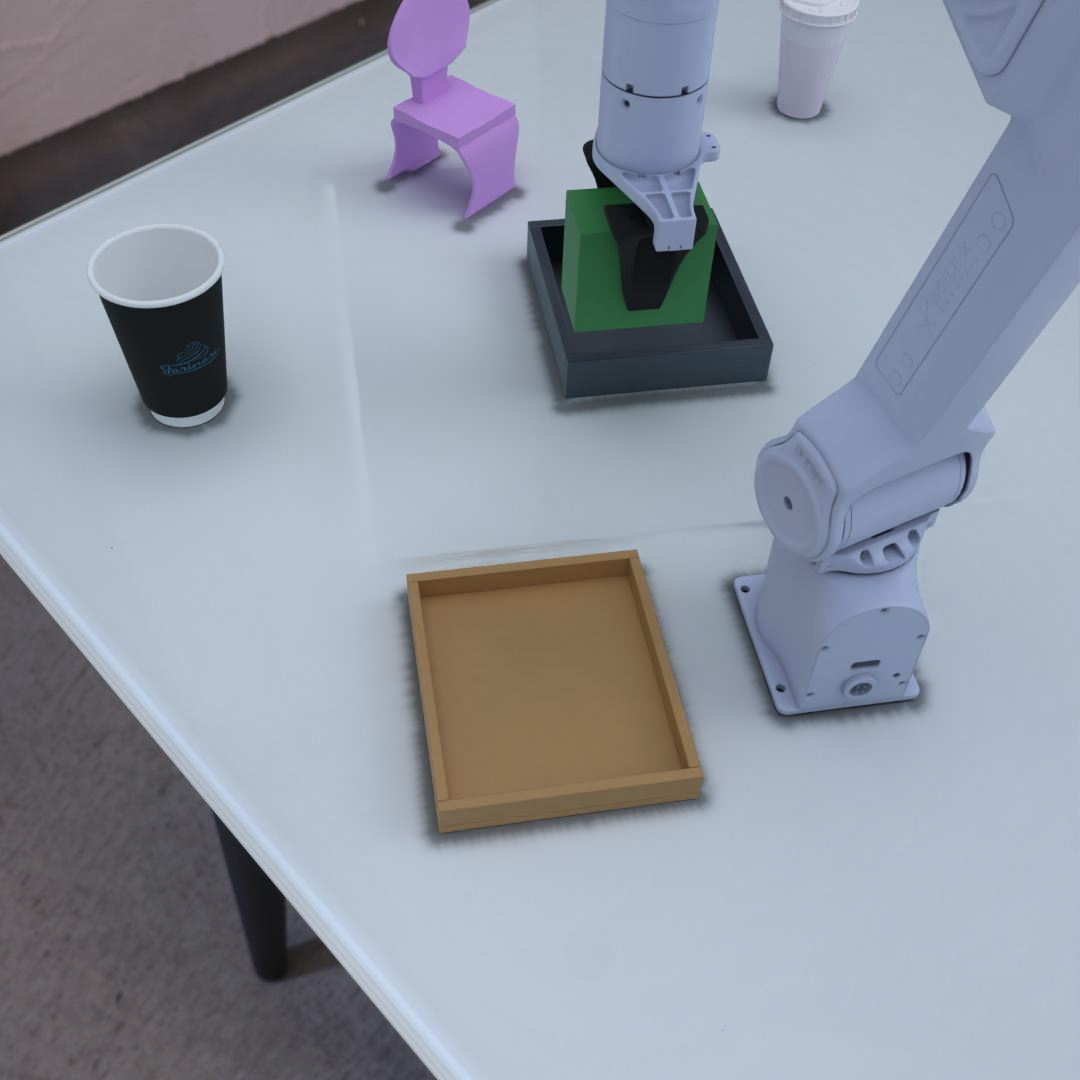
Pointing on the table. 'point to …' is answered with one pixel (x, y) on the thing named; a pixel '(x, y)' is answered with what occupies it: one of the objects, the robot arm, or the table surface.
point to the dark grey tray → (651, 332)
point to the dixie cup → (167, 317)
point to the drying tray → (547, 691)
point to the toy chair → (448, 102)
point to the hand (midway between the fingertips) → (634, 281)
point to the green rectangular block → (598, 272)
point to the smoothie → (810, 51)
